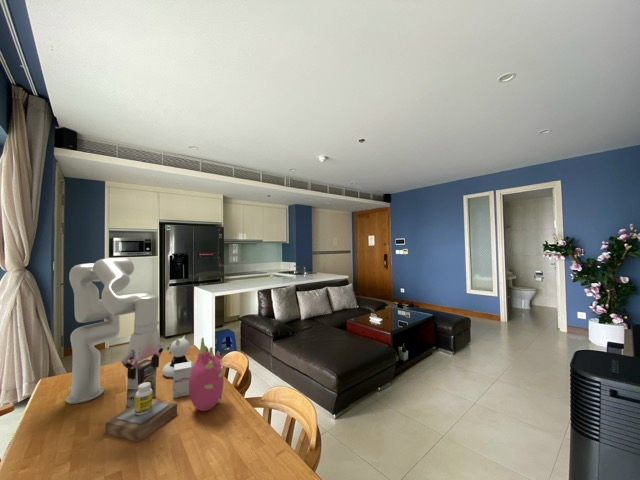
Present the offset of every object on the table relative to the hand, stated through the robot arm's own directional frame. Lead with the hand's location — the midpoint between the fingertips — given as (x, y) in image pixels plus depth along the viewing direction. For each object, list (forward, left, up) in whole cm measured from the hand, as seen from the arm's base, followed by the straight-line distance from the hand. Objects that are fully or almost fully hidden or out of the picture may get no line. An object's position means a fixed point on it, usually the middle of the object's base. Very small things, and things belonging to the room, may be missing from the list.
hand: (143, 372), depth 99 cm
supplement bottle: (0, 0, -15) cm, 15 cm away
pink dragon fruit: (+18, +14, -19) cm, 30 cm away
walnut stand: (+1, 0, -19) cm, 19 cm away
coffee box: (-13, +11, -19) cm, 26 cm away
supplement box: (-1, +21, -19) cm, 28 cm away
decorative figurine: (-19, +37, -19) cm, 46 cm away
